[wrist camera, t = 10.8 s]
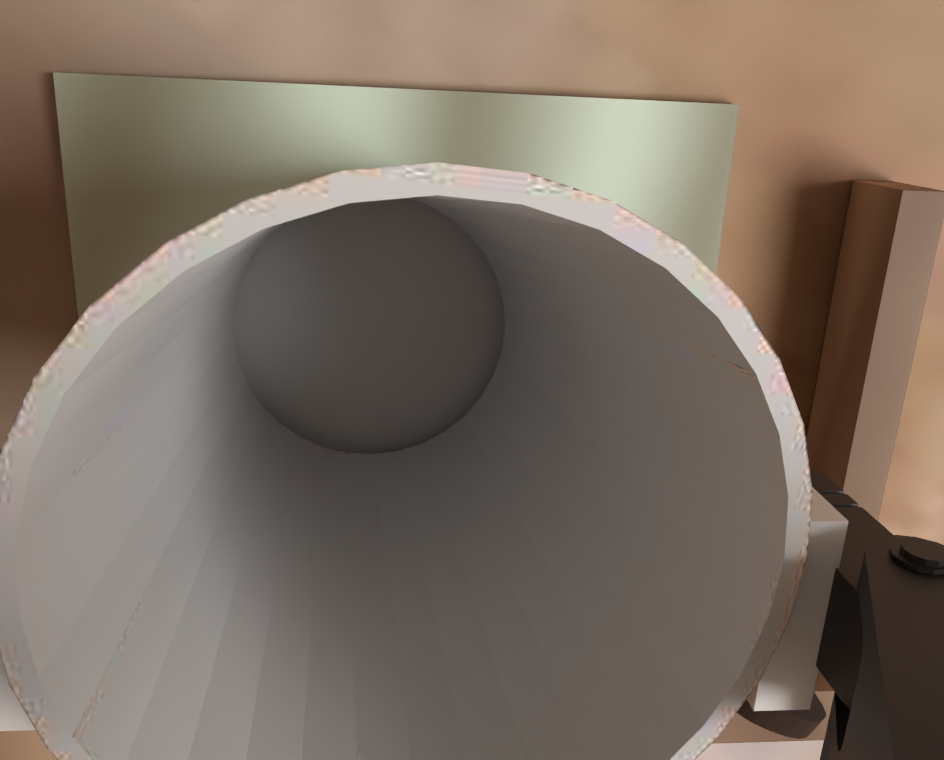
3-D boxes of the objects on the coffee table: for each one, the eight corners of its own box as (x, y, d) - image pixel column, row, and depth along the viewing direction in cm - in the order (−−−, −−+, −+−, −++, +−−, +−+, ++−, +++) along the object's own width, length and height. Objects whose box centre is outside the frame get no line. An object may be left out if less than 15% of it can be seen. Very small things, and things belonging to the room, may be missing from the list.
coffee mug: (66, 255, 17) (-236, 480, 8) (447, 28, 17) (615, -26, 7) (375, 659, 21) (424, 1116, 12) (680, 481, 21) (971, 806, 12)
